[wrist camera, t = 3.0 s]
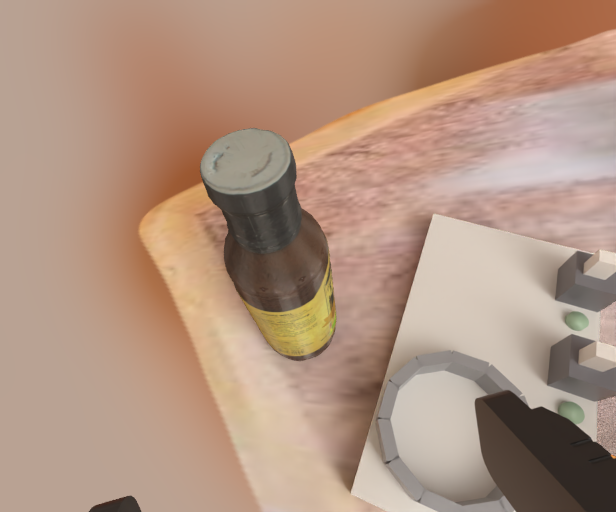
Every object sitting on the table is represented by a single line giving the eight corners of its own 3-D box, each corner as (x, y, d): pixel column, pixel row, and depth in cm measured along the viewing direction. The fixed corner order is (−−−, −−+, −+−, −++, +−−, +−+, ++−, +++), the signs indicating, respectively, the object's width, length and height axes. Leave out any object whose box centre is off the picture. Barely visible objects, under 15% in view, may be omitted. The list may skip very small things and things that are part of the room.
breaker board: (429, 225, 36) (446, 174, 30) (588, 266, 33) (646, 218, 26) (350, 492, 26) (351, 499, 20) (572, 598, 22) (661, 648, 16)
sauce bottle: (350, 338, 31) (355, 177, 14) (286, 377, 30) (208, 254, 13) (312, 281, 34) (278, 93, 17) (253, 315, 33) (153, 149, 16)
